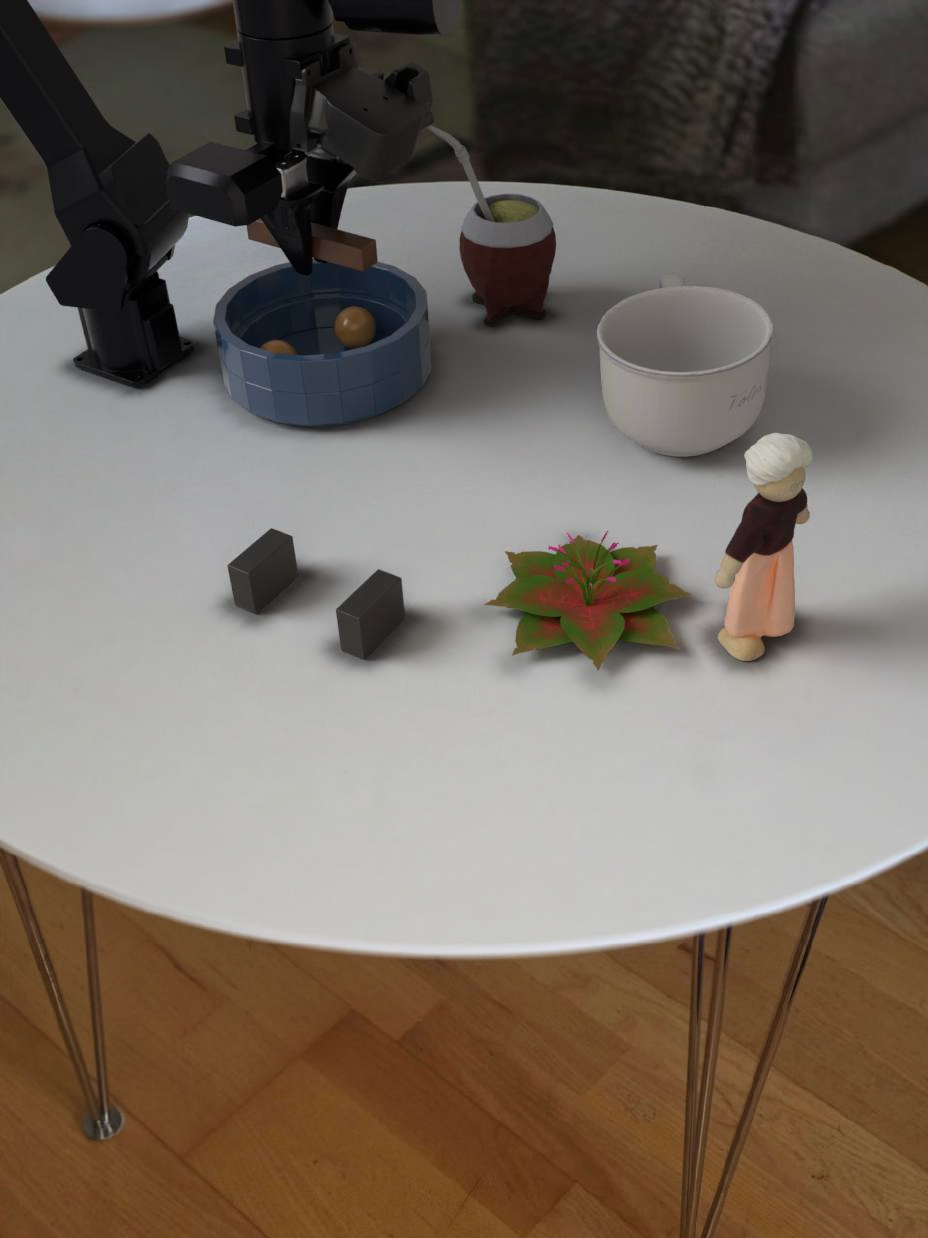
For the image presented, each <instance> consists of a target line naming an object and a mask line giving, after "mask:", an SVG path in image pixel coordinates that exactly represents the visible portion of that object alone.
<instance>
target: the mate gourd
mask: <svg viewBox="0 0 928 1238" xmlns="http://www.w3.org/2000/svg"><path fill="white" fill-rule="evenodd" d="M426 129H427V130H429V131H430V132H431V133H433V134H434V135H436V136H437V137H439V138H440V139H442V140H443V141H444V142H445V143H447V144H448V145H449V146H450V147H452V148H453V150H454V155H455V157H456V158H457V161H458V162H459V163H460V164H462V167H463V169H464V172H465V174H466V177H467V179H468V182H469V184H470V187H471V189H472V191H473V194H474V197H475V199H476V201H477V202H475V203H474V204H473V205H472V206H471V207H470V209H469V211H468V212H467V213H466V215H465V217H464V219H463V222H462V225H461V228H460V229H461V231H460V236H459V240H458V241H459V243H458V245H459V247H458V248H459V254H460V255H459V256H460V260H461V264H462V267H463V270H464V272H465V274H466V276H467V279H468V280H469V282H470V284H471V287H472V288H473V289H474V293H472V294H471V298H472V302H473V303H477V304H479V305H483V306H484V307H485V310H486V317H484V318H483V326H485V327H489V328H493V327H494V326H496V325H497V324H498V323H499V322H501V321H502V320H503V319H504V318H505V317H507V316H508V315H510V314H517V315H520V316H523V317H527V318H531V319H535V320H540V321H542V320H545V318H546V316H547V310H546V309H543V307H544V304H545V300H546V297H547V294H548V289H549V284H550V275H551V274H552V269H553V265H554V261H555V258H556V251H557V235H556V232H555V227H554V221H553V219H552V218H551V216H550V215H549V213H548V211H547V210H546V208H545V207H544V205H543V204H542V203H541V202H540V201H539V200H538V199H535V198H533V197H532V196H529V195H525V194H520V193H499V194H498V193H497V194H492V195H489V196H487V197H485V195H484V194H483V191H482V189H481V187H480V184H479V181H478V179H477V176H476V174H475V171H474V168H473V166H472V164H471V161H470V159H471V157H470V154H469V151H467V148H466V147H465V145H462V144H461V142H460V141H459V140H457V138H455V137H454V136H452V135H451V134H450V133H448V132H446V131H444V130H441V129H440V128H438V127H436V126H433V124H432V125H431V126H429V127H427V128H426Z"/></svg>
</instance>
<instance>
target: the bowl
mask: <svg viewBox="0 0 928 1238" xmlns="http://www.w3.org/2000/svg"><path fill="white" fill-rule="evenodd" d="M352 306H358V307H362V308H364V309H366V310H368V311H369V312H370V313H371V314H372V316H373V317H374V319H375V322H376V334H375V336H374V338H373V340H372V341H371V343H370V344H368V345H367V346H365V347H361V348H357V349H352V348H348V347H346V346H344V345H343V344H342V343H341V342H340V341H339V340H338V338H337V337H336V334H335V329H334V326H335V320H336V318H337V316H338V315H339V313H340V312H341V311H343V310H344V309H346V308H348V307H352ZM429 319H430V318H429V303H428V294H427V290H426V289H425V287H423V285H422V284H421V283H420V281H419V280H418V279H417V277H415V276H414V275H412V274H410V273H409V272H406V271H404V270H403V269H401V268H399V267H398V266H395V265H391V264H388V263H384V262H381V261H378V262H377V263H376V264H374V265H373V266H371V267H370V268H369V269H367V270H366V271H364V272H362V271H359V270H355V269H352V268H348V267H345V266H341V265H337V264H334V263H330V262H328V263H326V264H324V263H320V262H317V261H315V260H314V258H313V266H312V273H311V274H310V275H308V276H306V275H302V274H299V273H297V272H296V271H295V269H294V268H293V266H292V265H291V263H290V262H289V261H287V262H284V263H279V264H275V265H272V266H270V267H267V268H265V269H262V270H260V271H257V272H255V273H252V274H250V275H247V276H246V277H244V278H243V279H241V280H239V282H236V284H234V285H232V286H231V287H229V288H228V289H227V290H226V291H225V292H224V293H223V295H222V297H220V299H219V300H218V302H217V303H216V304H215V308H214V315H213V320H212V322H213V323H212V324H213V329H214V333H215V340H216V344H217V351H218V356H219V361H220V362H219V363H220V367H221V368H220V369H221V373H222V378H223V383H224V385H225V387H226V390H227V391H228V394H229V396H230V397H231V400H232V401H234V402H235V403H237V404H238V405H239V406H240V407H242V408H244V410H246V411H247V412H249V413H251V414H253V415H256V416H259V417H262V418H264V419H267V420H270V421H273V422H276V423H279V424H285V425H289V426H295V427H296V426H297V427H307V428H308V427H309V428H310V427H312V428H313V427H314V428H320V427H321V428H323V427H335V426H344V425H350V424H355V423H359V422H362V421H366V420H370V419H372V418H374V417H379V416H380V415H382V414H385V413H387V412H390V411H391V410H393V409H394V408H397V407H398V406H399V405H401V404H403V403H405V402H406V401H407V400H408V399H409V398H411V397H413V395H414V394H416V393H417V392H418V391H419V390H421V389H422V388H423V387H424V385H425V383H426V381H427V379H428V377H429V375H430V373H431V372H432V367H433V365H432V353H431V337H430V320H429ZM271 340H282V341H285V342H287V343H289V344H290V345H291V346H292V347H293V348H294V349H295V350H296V352H297V355H292V354H282V353H273V352H270V351H267V350H263V349H260V347H261V346H262V345H263V344H265V343H266V342H268V341H271ZM319 354H321V355H319Z"/></svg>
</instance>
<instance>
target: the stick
mask: <svg viewBox="0 0 928 1238" xmlns="http://www.w3.org/2000/svg"><path fill="white" fill-rule="evenodd" d="M311 227H312V245H313V258H316V259H320V260H323V261H327V262H330V263H334V264H337V265H341V266H345V267H348V268H352V269H355V270H359V271H362V272H364V271H366V270H367V269H369V268H370V267H371V266H373V265H374V264H376V263H377V262H379V260H378V248H377V240H376V239H375V238H371V237H367V236H364V235H361V234H357V233H352V232H350V231H345V230H342V229H334V228H331V227H327V226H323V225H320V224H316V223H312V222H311ZM246 231H247V238H248V240H250V241H253V242H257V243H260V244H264V245H266V246H267V245H268V246H271V247H274V248H278V249H281V248H280V247H279V245H278V244H277V242H276V241H275V239H274V238H273V236H272V235H271V233H270V232H269V230H268V228H267V227H266V226H265V224H264V223H263V221H262V220H261V219H258V220H256V221H255V222H253V223H251V224H250V225H246Z"/></svg>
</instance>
